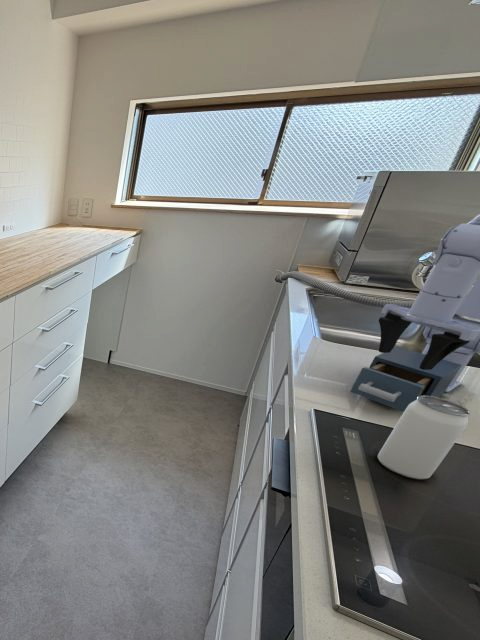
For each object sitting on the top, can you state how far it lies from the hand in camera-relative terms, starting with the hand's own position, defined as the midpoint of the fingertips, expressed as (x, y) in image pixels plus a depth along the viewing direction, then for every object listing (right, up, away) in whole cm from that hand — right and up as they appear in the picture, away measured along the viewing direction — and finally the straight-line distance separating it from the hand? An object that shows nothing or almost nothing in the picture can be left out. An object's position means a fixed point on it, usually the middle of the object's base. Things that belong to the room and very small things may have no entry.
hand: (403, 360), depth 82 cm
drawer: (+1, -8, +5) cm, 9 cm away
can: (-15, -18, -14) cm, 28 cm away
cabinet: (+10, -7, +10) cm, 15 cm away
